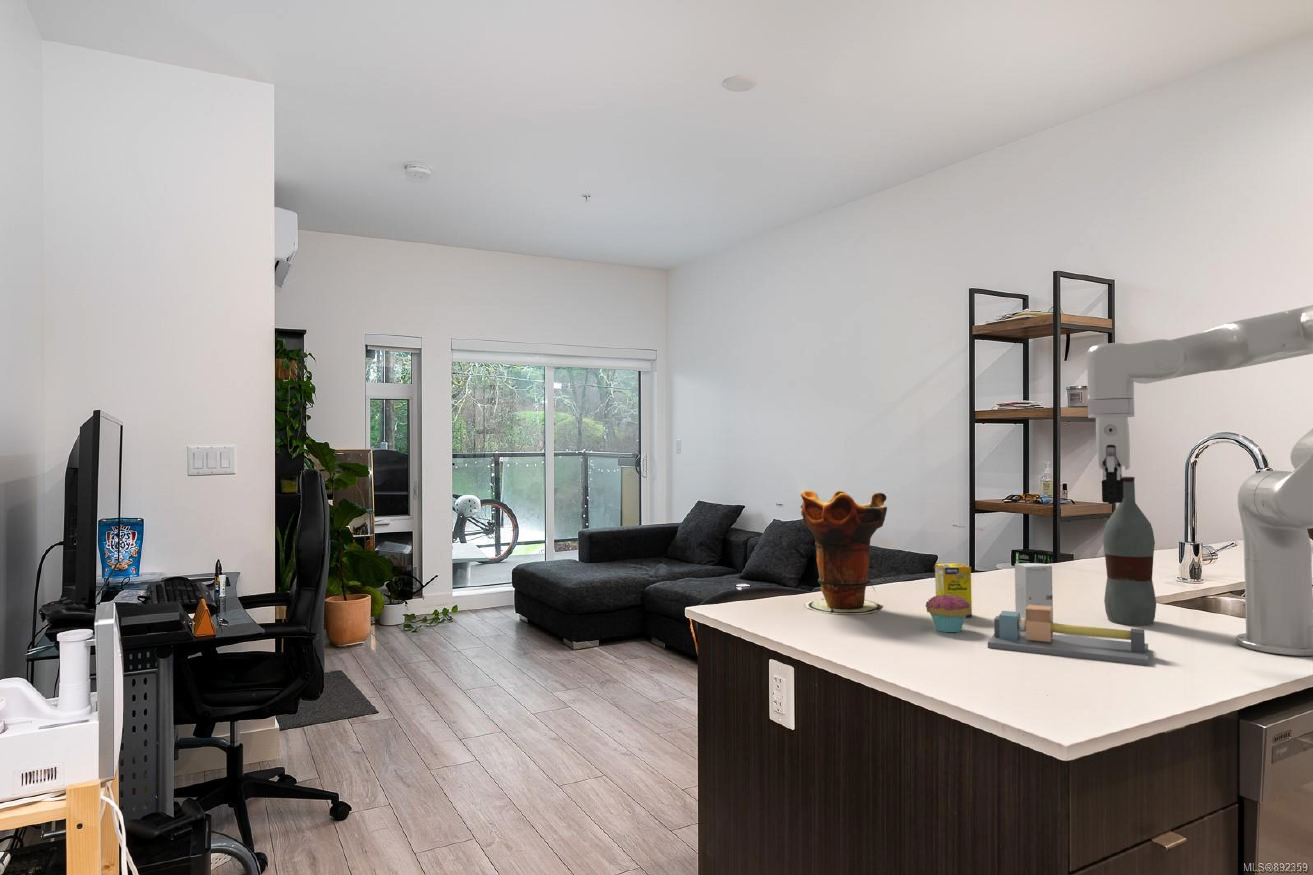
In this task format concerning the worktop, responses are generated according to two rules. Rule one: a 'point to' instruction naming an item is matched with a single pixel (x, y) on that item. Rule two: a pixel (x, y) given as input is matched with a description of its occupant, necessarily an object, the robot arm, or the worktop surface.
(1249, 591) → the robot arm
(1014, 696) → the worktop surface
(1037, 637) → the sleeve
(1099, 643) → the cable board
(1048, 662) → the worktop surface
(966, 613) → the cupcake
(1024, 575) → the skincare box
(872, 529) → the decorative vase
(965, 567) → the supplement box
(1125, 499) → the bottle
